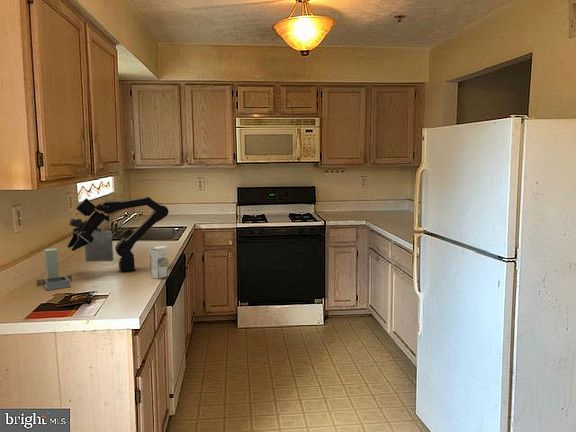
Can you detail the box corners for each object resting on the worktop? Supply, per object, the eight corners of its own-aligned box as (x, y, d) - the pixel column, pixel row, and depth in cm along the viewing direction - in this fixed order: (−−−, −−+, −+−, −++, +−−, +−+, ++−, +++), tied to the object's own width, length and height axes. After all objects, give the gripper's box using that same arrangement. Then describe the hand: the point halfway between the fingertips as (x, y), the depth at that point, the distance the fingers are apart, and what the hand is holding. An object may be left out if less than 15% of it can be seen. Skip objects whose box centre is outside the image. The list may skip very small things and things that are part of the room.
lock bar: (57, 278, 221) (55, 248, 219) (59, 280, 217) (57, 249, 215) (46, 279, 218) (44, 249, 216) (48, 281, 214) (46, 251, 213)
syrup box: (160, 274, 226) (159, 244, 224) (168, 276, 222) (167, 246, 220) (150, 277, 221) (149, 246, 220) (158, 279, 218) (157, 248, 216)
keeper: (66, 282, 213) (65, 275, 213) (70, 286, 206) (70, 280, 205) (43, 285, 208) (43, 278, 207) (47, 290, 201) (46, 283, 200)
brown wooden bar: (71, 279, 217) (70, 274, 217) (72, 280, 216) (71, 275, 216) (36, 284, 209) (36, 279, 209) (37, 285, 208) (37, 280, 208)
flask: (87, 259, 259) (85, 226, 257) (114, 259, 260) (112, 226, 258) (84, 261, 256) (82, 227, 254) (112, 260, 256) (110, 227, 254)
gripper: (75, 210, 229) (52, 235, 224) (84, 213, 214) (59, 241, 209) (93, 224, 235) (71, 249, 230) (103, 229, 219) (79, 256, 215)
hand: (70, 248), depth 221 cm, fingers open, 9 cm apart
